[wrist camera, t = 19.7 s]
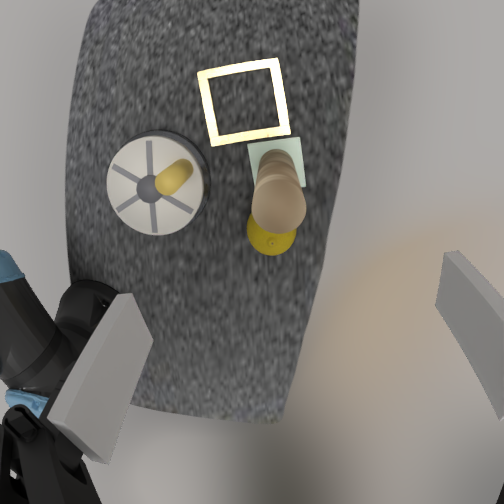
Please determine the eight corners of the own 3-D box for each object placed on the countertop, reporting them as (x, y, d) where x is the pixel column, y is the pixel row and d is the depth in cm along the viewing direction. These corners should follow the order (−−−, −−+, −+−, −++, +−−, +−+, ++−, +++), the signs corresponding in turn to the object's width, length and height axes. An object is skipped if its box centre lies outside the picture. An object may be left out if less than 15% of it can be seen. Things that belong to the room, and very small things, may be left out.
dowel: (262, 184, 36) (256, 236, 24) (256, 151, 34) (247, 187, 22) (295, 179, 35) (308, 230, 23) (291, 146, 33) (302, 179, 21)
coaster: (256, 192, 37) (255, 193, 36) (247, 143, 34) (247, 144, 34) (305, 185, 36) (306, 186, 36) (299, 136, 33) (299, 137, 33)
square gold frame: (212, 145, 34) (211, 146, 34) (198, 72, 30) (196, 72, 29) (290, 133, 33) (290, 134, 32) (277, 58, 29) (277, 57, 28)
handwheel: (145, 245, 39) (123, 275, 32) (96, 169, 34) (63, 186, 28) (222, 203, 36) (212, 229, 29) (171, 116, 31) (147, 120, 25)
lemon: (287, 239, 39) (292, 271, 32) (244, 230, 39) (240, 262, 32) (298, 198, 37) (306, 224, 30) (253, 189, 37) (250, 212, 30)
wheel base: (129, 235, 40) (126, 239, 39) (103, 145, 34) (98, 146, 33) (220, 221, 39) (219, 224, 38) (198, 118, 33) (196, 119, 32)
